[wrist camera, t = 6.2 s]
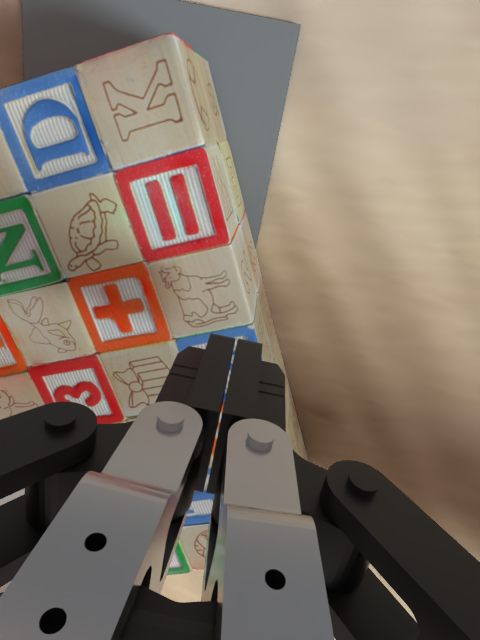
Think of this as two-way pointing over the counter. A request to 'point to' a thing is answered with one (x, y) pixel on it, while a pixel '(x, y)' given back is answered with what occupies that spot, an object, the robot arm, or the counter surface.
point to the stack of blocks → (123, 242)
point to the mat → (205, 38)
